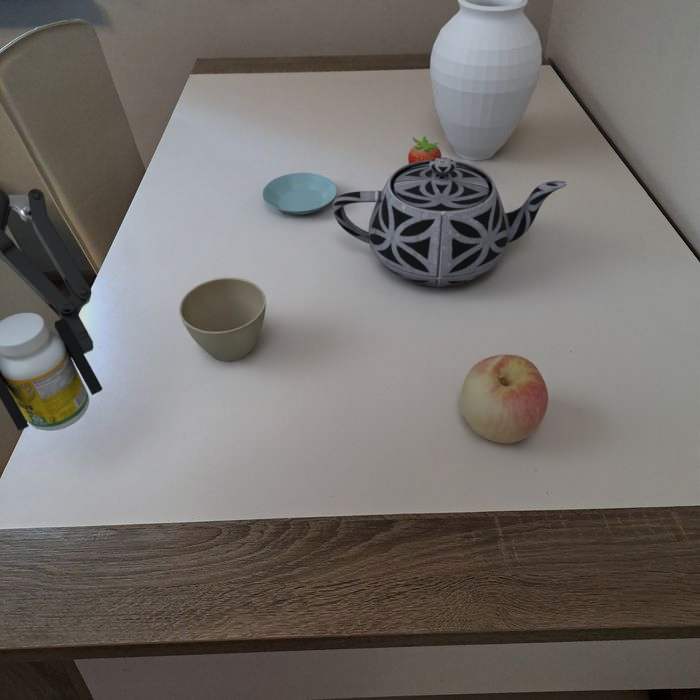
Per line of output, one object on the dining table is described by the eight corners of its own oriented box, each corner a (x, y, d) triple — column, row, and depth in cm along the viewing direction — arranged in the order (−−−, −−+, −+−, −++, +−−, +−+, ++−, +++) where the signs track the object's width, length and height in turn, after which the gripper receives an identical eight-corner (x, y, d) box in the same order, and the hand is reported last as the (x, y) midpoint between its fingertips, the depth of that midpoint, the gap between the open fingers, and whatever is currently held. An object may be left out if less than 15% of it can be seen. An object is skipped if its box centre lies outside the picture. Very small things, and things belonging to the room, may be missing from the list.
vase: (489, 121, 124) (507, -25, 107) (546, 161, 112) (577, 3, 95) (407, 141, 119) (413, -9, 102) (458, 184, 107) (474, 23, 90)
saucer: (351, 198, 105) (351, 185, 103) (305, 231, 98) (304, 218, 97) (296, 178, 110) (295, 165, 109) (249, 208, 103) (247, 195, 102)
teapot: (565, 300, 85) (592, 199, 74) (332, 301, 86) (326, 202, 75) (538, 221, 98) (557, 127, 88) (337, 223, 100) (333, 130, 89)
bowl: (179, 372, 77) (165, 327, 72) (207, 317, 84) (196, 273, 79) (259, 381, 76) (251, 336, 71) (281, 325, 83) (275, 280, 78)
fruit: (439, 175, 110) (442, 130, 104) (439, 190, 106) (443, 144, 100) (407, 174, 110) (409, 129, 104) (406, 190, 106) (408, 144, 101)
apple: (523, 390, 73) (535, 338, 68) (551, 451, 67) (567, 400, 61) (448, 399, 73) (454, 347, 67) (470, 463, 66) (478, 411, 61)
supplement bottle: (101, 410, 57) (64, 329, 50) (42, 443, 54) (-4, 363, 48) (74, 378, 60) (36, 297, 53) (17, 408, 57) (-30, 328, 50)
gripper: (35, 135, 58) (158, 363, 60) (-202, 206, 50) (-52, 467, 52) (32, 94, 51) (171, 353, 53) (-241, 168, 43) (-67, 470, 45)
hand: (61, 409), depth 52 cm, fingers closed on supplement bottle, 5 cm apart
